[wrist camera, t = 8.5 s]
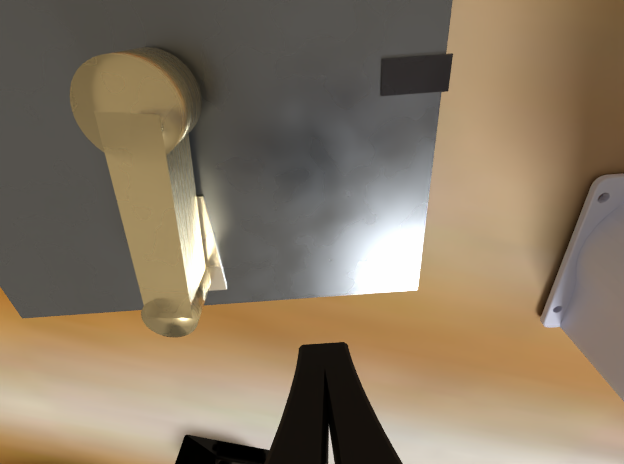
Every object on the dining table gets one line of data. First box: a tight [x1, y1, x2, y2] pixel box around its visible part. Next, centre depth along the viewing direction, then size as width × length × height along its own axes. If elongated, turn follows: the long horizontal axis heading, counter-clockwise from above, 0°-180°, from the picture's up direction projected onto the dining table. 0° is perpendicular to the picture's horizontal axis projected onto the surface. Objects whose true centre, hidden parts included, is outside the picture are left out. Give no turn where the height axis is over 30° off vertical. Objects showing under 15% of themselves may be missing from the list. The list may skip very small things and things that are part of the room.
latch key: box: [70, 47, 211, 337], centre depth 13 cm, size 11×3×2 cm, turn 177°
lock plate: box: [0, 0, 453, 318], centre depth 13 cm, size 20×20×2 cm
